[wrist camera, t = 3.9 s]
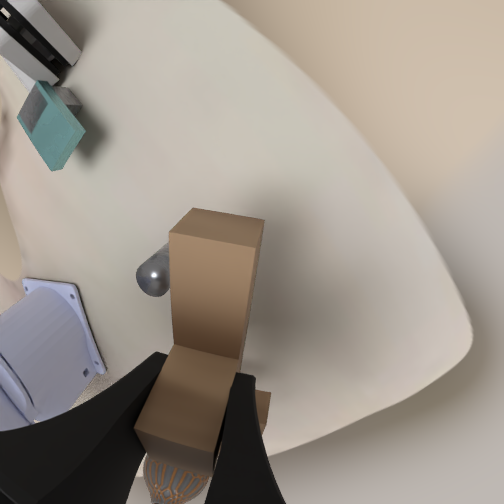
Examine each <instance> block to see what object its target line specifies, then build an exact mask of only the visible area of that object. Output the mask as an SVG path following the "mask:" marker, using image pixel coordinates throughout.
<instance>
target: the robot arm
mask: <svg viewBox="0 0 504 504" xmlns="http://www.w3.org/2000/svg"><path fill="white" fill-rule="evenodd" d="M22 284H23V287H24V290H25V293H26V296H25V297H24V298H22V299H21V300H19V301H18V302H17V303H15V304H14V305H13V306H11V307H10V308H9V309H7V310H6V311H5V312H3V313H2V314H1V315H0V504H126V501H127V498H128V495H129V492H130V489H131V486H132V484H133V481H134V478H135V476H136V473H137V470H138V468H139V466H140V464H141V461H142V459H143V457H144V456H145V454H146V451H145V449H144V447H143V445H142V443H141V441H140V439H139V438H138V436H137V434H136V432H135V430H134V426H135V424H136V422H137V419H138V417H139V415H140V413H141V411H142V409H143V407H144V405H145V403H146V400H147V398H148V396H149V394H150V392H151V390H152V388H153V386H154V384H155V382H156V380H157V378H158V376H159V373H160V372H161V370H162V367H163V365H164V363H165V361H166V359H167V357H168V355H166V354H163V353H160V352H155V353H153V354H152V355H151V356H149V357H148V358H147V359H146V360H145V361H143V362H142V363H141V364H140V365H138V366H137V367H136V368H135V369H133V370H132V371H131V372H129V373H128V374H127V375H125V376H124V377H123V378H121V379H120V380H119V381H117V382H116V383H114V384H113V385H112V386H110V387H109V388H107V389H106V390H104V391H102V392H101V393H99V394H98V395H96V396H95V397H93V398H91V399H90V400H88V401H86V402H84V403H83V404H81V405H79V406H77V407H75V408H73V409H71V410H69V409H70V408H71V407H72V405H73V404H74V403H75V401H76V400H77V399H78V397H79V396H80V395H81V393H82V392H83V391H84V389H85V388H86V387H87V385H88V384H89V383H90V382H91V380H92V379H93V378H94V376H95V375H96V374H97V373H99V374H105V372H106V369H105V367H104V364H103V362H102V359H101V357H100V355H99V352H98V349H97V347H96V344H95V342H94V339H93V336H92V334H91V331H90V328H89V325H88V322H87V319H86V316H85V313H84V310H83V307H82V304H81V301H80V297H79V294H78V290H77V288H76V286H75V285H73V284H69V283H61V282H53V281H45V280H37V279H30V278H24V279H23V280H22ZM255 381H256V378H255V377H254V376H253V375H248V374H243V373H238V372H236V374H235V377H234V380H233V384H232V387H230V392H229V398H228V405H227V411H226V418H225V424H224V431H223V437H222V444H221V449H220V453H219V456H218V460H217V463H216V466H215V470H214V473H213V477H212V480H211V483H210V487H209V490H208V493H207V497H206V500H205V503H204V504H286V503H285V501H284V499H283V497H282V494H281V492H280V490H279V487H278V485H277V483H276V480H275V478H274V475H273V472H272V469H271V467H270V464H269V461H268V457H267V454H266V450H265V447H264V443H263V439H262V435H261V430H260V425H259V420H258V414H257V407H256V396H255ZM68 410H69V411H68ZM34 420H37V421H41V422H39V423H35V422H34Z"/></svg>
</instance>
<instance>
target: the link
mask: <svg viewBox="0 0 504 504" xmlns="http://www.w3.org/2000/svg"><path fill="white" fill-rule="evenodd" d="M264 221H265V220H262V219H256V218H251V217H245V216H239V215H234V214H228V213H222V212H216V211H210V210H204V209H198V208H192V209H191V210H190V211H189V212H188V213H187V214H186V215H185V216H184V217H183V218H182V219H181V220H180V221H179V222H178V223H177V224H176V225H175V226H174V227H173V228H172V229H171V230H170V231H169V266H170V292H171V310H172V325H173V338H174V345H173V347H172V349H171V351H170V353H169V355H168V357H167V359H166V361H165V363H164V365H163V367H162V370H161V372H160V373H159V376H158V378H157V380H156V382H155V384H154V386H153V388H152V390H151V392H150V394H149V396H148V398H147V400H146V403H145V405H144V407H143V409H142V411H141V413H140V415H139V417H138V419H137V422H136V424H135V426H134V430H135V432H136V434H137V436H138V438H139V439H140V441H141V443H142V445H143V447H144V449H145V451H146V452H147V454H148V456H149V458H150V459H152V460H154V461H157V462H160V463H163V464H166V465H169V466H172V467H176V468H179V469H182V470H186V471H189V472H193V473H197V474H200V475H204V476H208V477H213V473H214V469H215V466H216V462H217V458H218V454H219V453H220V449H221V444H222V437H223V431H224V424H225V418H226V411H227V405H228V398H229V392H230V387H232V384H233V380H234V377H235V374H236V372H238V373H240V369H241V363H242V357H243V351H244V345H245V339H246V333H247V327H248V321H249V315H250V308H251V302H252V296H253V290H254V284H255V278H256V271H257V265H258V259H259V253H260V246H261V240H262V234H263V227H264ZM255 396H256V407H257V414H258V420H259V425H260V430H261V435H262V434H263V431H264V429H265V426H266V423H267V417H268V410H269V404H270V397H271V392H265V391H260V390H255Z"/></svg>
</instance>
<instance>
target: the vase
mask: <svg viewBox="0 0 504 504" xmlns="http://www.w3.org/2000/svg"><path fill="white" fill-rule="evenodd" d="M143 475H144V479H145V482H146V485H147V487H148V490H149V492H150V496H151V503H152V504H184V503H186V502H188V501H190V500H192V499H193V498H195V497H196V496H198V495H199V494H200V493H201V492H202V491H203V489H204V488H205V486H206V484H207V482H208V479H209V477H208V476H204V475H200V474H197V473H193V472H189V471H186V470H182V469H179V468H176V467H172V466H169V465H166V464H163V463H160V462H157V461H154V460H152V459H150V458H149V456H148V454H147V456H146V458H145V461H144V467H143Z"/></svg>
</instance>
